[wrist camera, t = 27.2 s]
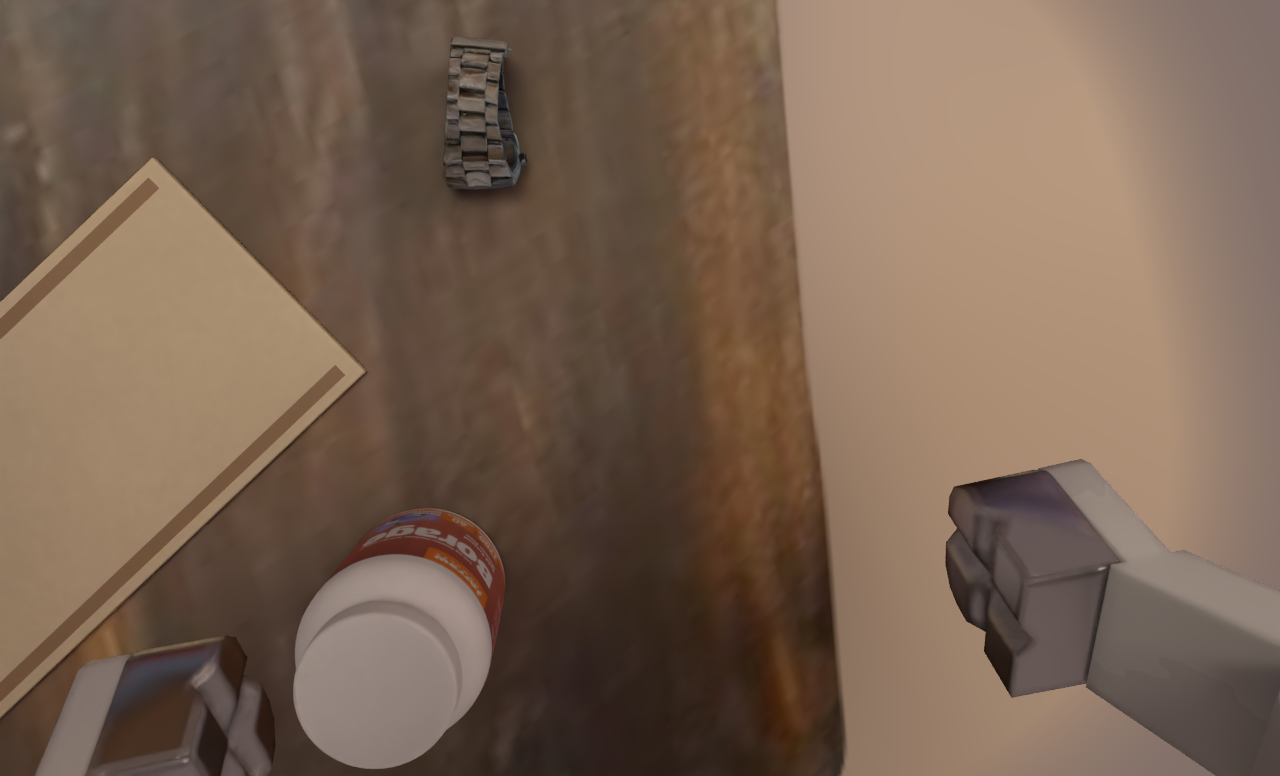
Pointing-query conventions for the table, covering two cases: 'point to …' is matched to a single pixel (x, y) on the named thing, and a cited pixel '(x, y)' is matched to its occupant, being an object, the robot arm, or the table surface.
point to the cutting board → (137, 408)
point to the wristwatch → (479, 118)
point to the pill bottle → (399, 639)
